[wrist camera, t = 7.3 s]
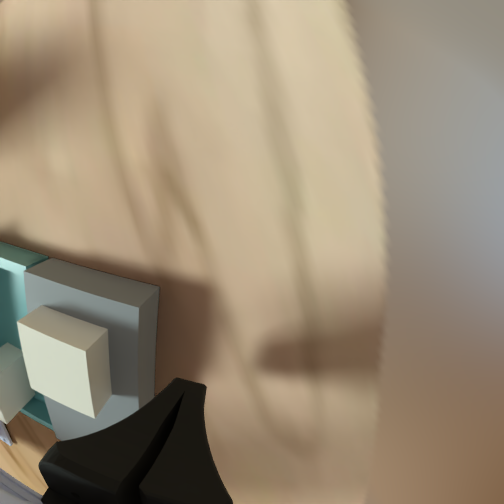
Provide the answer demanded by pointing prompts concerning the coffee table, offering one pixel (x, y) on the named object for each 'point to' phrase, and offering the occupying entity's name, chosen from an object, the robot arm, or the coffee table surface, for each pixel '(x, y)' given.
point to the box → (18, 312)
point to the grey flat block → (119, 336)
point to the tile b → (66, 359)
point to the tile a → (13, 382)
